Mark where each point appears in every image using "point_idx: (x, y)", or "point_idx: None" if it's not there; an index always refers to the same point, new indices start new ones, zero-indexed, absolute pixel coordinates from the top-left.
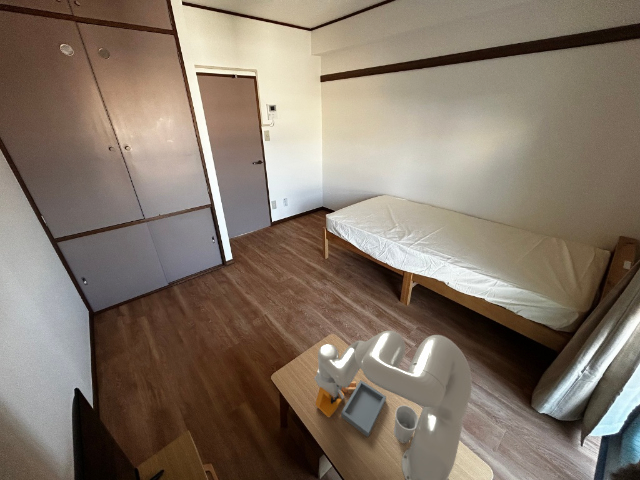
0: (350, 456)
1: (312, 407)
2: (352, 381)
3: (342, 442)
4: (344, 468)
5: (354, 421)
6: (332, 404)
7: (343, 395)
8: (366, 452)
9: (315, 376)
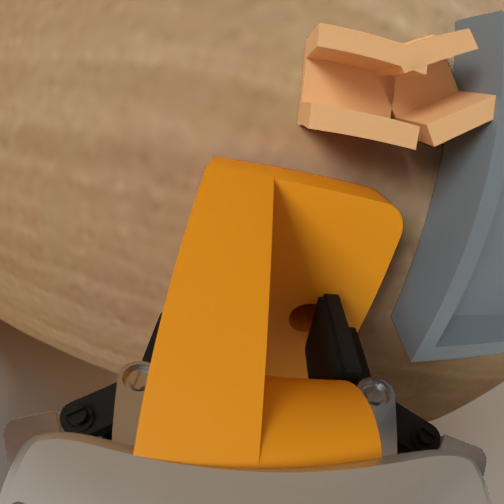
0: (444, 394)
1: None
2: (441, 37)
3: (412, 386)
4: None
5: (490, 352)
6: None
7: (483, 472)
8: (500, 355)
9: (11, 448)
